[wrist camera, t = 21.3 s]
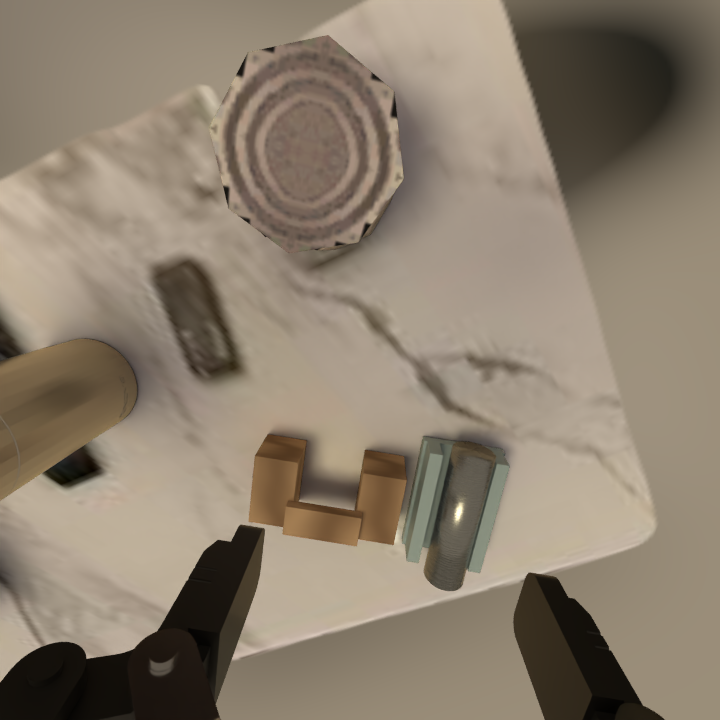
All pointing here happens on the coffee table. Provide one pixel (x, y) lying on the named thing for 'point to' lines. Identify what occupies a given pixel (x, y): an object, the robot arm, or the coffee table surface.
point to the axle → (458, 514)
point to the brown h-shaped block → (368, 522)
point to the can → (308, 145)
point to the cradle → (429, 494)
